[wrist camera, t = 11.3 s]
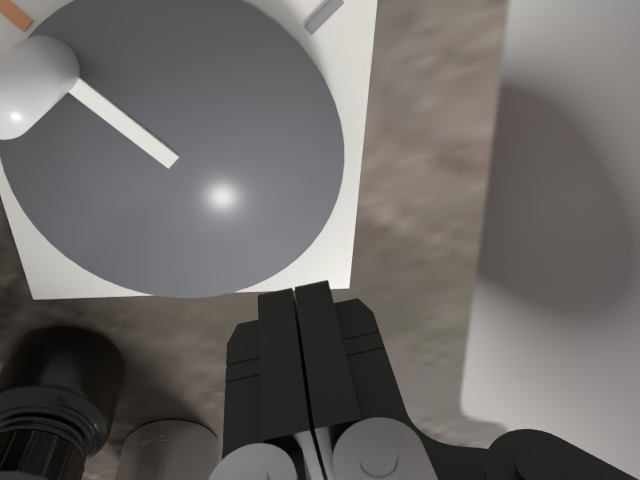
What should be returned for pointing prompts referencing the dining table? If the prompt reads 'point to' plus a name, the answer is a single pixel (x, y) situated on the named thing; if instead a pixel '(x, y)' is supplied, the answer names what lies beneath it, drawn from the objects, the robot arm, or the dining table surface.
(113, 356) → the ink bottle
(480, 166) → the dining table surface
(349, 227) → the dial base
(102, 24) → the dial
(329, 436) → the robot arm
